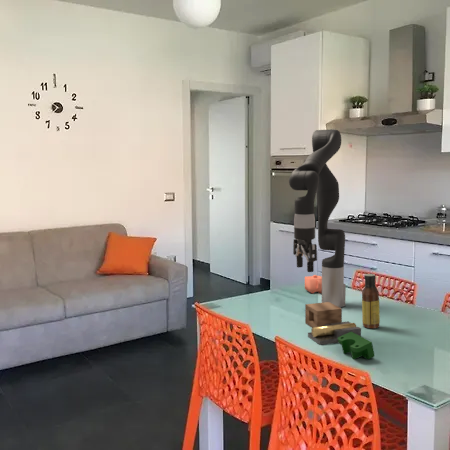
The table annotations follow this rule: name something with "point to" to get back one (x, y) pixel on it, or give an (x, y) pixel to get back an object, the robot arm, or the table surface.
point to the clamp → (356, 345)
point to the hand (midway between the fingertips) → (304, 269)
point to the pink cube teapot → (313, 284)
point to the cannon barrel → (329, 329)
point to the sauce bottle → (370, 303)
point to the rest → (337, 333)
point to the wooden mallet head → (322, 314)
